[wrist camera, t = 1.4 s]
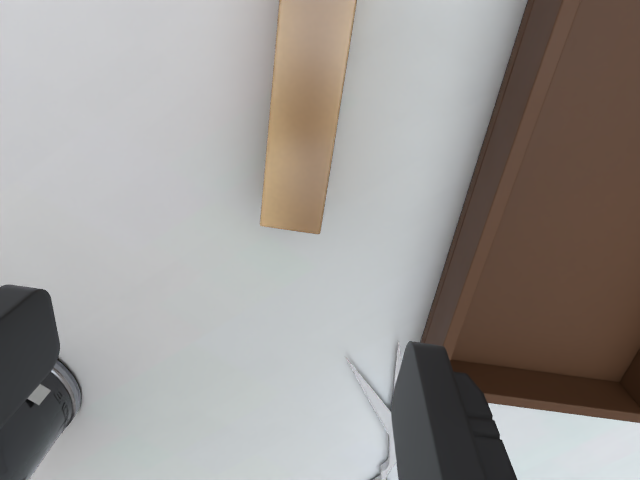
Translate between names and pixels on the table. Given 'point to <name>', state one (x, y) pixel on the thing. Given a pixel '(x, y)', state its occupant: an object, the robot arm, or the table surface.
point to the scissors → (382, 415)
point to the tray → (554, 222)
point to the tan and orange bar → (304, 110)
